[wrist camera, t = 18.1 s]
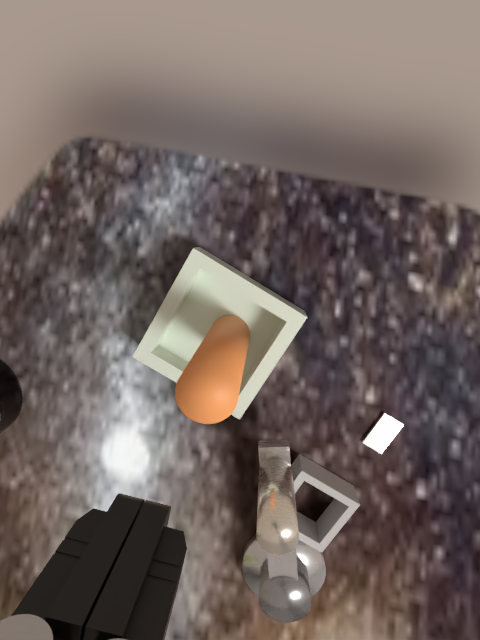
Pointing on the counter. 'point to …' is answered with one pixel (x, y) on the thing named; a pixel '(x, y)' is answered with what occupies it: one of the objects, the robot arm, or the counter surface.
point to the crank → (279, 537)
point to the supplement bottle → (9, 397)
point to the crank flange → (311, 557)
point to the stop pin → (215, 372)
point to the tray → (205, 308)
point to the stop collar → (335, 513)
